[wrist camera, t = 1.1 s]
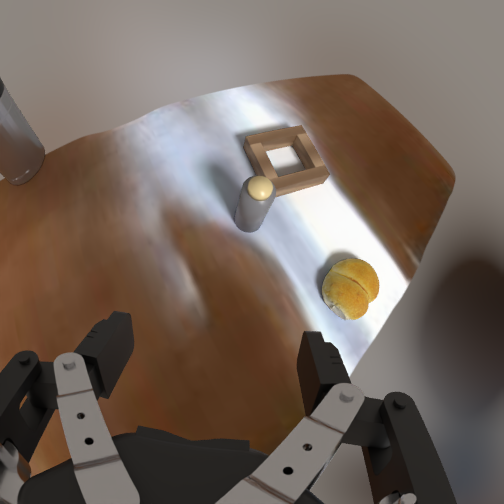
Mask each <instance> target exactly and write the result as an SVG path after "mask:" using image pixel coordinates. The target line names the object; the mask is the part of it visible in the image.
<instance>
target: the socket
mask: <svg viewBox="0 0 504 504" xmlns="http://www.w3.org/2000/svg"><path fill="white" fill-rule="evenodd" d="M291 145H292V146H293V147H294V149H295V151H296V153H297V155H298V156H299V158H300V160H301V162H302V164H303V166H304V167H305V169H306V170H303V171H299V172H295V173H291V174H288V175H284V176H280V177H278V176H277V174H276V172H275V170H274V168H273V166H272V164H271V162H270V160H269V158H268V156H267V154H266V152H265V151H269V150H274V149H278V148H282V147H287V146H291ZM243 148H244V150H245V152H246V154H247V156H248V158H249V160H250V162H251V164H252V167H253V169H254V171H255V173H256V175H257V176H264V177H266V178H268V179H269V180H270V181H271V182H272V183H273V184H274V186H275V188H276V196H275V197H278V196H281V195H285V194H288V193H292V192H295V191H298V190H302V189H305V188H309V187H312V186H316V185H319V184H323V183H324V182H325V180H326V179H327V178H328V176H329V175H330V173H329V172H328V170H327V168H326V166H325V164H324V163H323V161H322V159H321V157H320V156H319V154H318V152H317V150H316V149H315V147H314V145H313V144H312V142H311V140H310V138H309V137H308V135H307V133H306V132H305V130H304V129H303V127H302V125H300V126H295V127H289V128H284V129H279V130H274V131H269V132H264V133H259V134H255V135H250V136H246V138H245V142H244V147H243Z"/></svg>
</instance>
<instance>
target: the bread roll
mask: <svg viewBox="0 0 504 504" xmlns="http://www.w3.org/2000/svg"><path fill="white" fill-rule="evenodd" d="M378 292H379V280H378V277H377V274H376V272H375V270H374V269H373V268H372V266H371V265H370V264H368V263H367V262H365V261H363V260H361V259H352V258H351V259H345V260H342V261H339V262H338V263H336V264H335V265H333V266H332V268H331V269H330V271H329V272H328V274H327V275H326V277H325V279H324V281H323V285H322V295H323V298H324V302H325V303H326V304H327V305H328V307H329V308H330V309H331V310H332V311H333V312H334V313H335V314H337V315H338V316H339V317H340V318H342V319H344V320H348V319H351V320H355V319H358V318H360V317H362V316H363V315H364V314H365V313H366V312H367V309H368V303H370V302H372V301H373V300H374V299H375V298H376V297H377V295H378Z"/></svg>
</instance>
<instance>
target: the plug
mask: <svg viewBox="0 0 504 504" xmlns="http://www.w3.org/2000/svg"><path fill="white" fill-rule="evenodd" d="M275 196H276V188H275V186H274V184H273V183H272V182H271V181H270V180H269V179H268V178H266V177H264V176H252V177H250V178H248V179H247V180H246V181H245V182H244V183H243V186H242V190H241V194H240V198H239V202H238V205H237V209H236V213H235V218H234V220H235V224H236V226H237V227H238V228H239V229H240V230H242V231H244V232H254V231H256V230H258V229H259V228H260V226H261V224H262V222H263V220H264V218H265V216H266V214H267V212H268V210H269V208H270V206H271V205H272V203H273V201H274V199H275Z"/></svg>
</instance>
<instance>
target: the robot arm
mask: <svg viewBox="0 0 504 504" xmlns="http://www.w3.org/2000/svg"><path fill="white" fill-rule="evenodd" d="M44 156H45V150H44V147H43V145H42V144H41V142H40V141H39V139H38V137H37V136H36V134H35V133H34V131H33V130H32V128H31V127H30V125H29V124H28V122H27V121H26V119H25V117H24V116H23V114H22V113H21V111H20V110H19V109H18V107H17V105H16V104H15V102H14V100H13V99H12V97H11V96H10V94H9V93H8V90H7V89H6V87H5V85H4V84H3V82H2V80H1V78H0V173H1V174H2V175H3V176H4V177H5V178H6V179H7V180H8V181H9V182H10V183H11V184H13V185H20V184H23V183H25V182H27V181H28V180H30V179H31V178H32V177H33V176H34V175H35V174H36V173H37V171H38V170H39V169H40V167H41V165H42V163H43V160H44ZM133 349H134V336H133V329H132V320H131V315H130V314H129V313H125V312H118V311H114V312H113V313H112V314H111V315H110V317H109V318H108V319H107V320H105V319H103V320H102V321H100V322H98V323H97V324H95V325H94V327H93V328H92V329H91V332H89V333H88V334H87V337H85V338H84V339H83V341H82V342H81V343H80V344H79V346H78V347H77V348H76V350H75V351H74V352H73V353H64V354H62V355H60V356H58V357H57V358H56V359H55V361H54V362H40V361H39V358H38V356H37V354H36V353H35V352H33V351H22V352H19V353H17V354H16V355H15V356H14V357H13V358H12V359H11V360H10V362H9V363H8V364H7V365H6V366H5V368H4V369H3V370H2V371H1V373H0V504H324V503H323V502H322V501H321V500H319V499H318V498H317V497H316V496H315V495H314V494H313V493H311V492H310V489H311V488H312V487H313V485H314V484H315V482H316V481H317V480H318V478H319V477H320V475H321V474H322V472H323V471H324V469H325V468H326V466H327V465H328V464H329V462H330V460H331V459H332V458H333V456H334V454H335V453H336V452H337V450H338V448H339V447H340V445H341V444H342V443H346V444H353V445H359V446H361V447H362V451H363V455H364V460H365V464H366V468H367V473H368V477H369V482H370V486H371V491H372V496H373V501H374V504H457V503H456V500H455V497H454V494H453V492H452V489H451V487H450V484H449V481H448V478H447V476H446V473H445V471H444V468H443V466H442V463H441V461H440V458H439V456H438V454H437V451H436V449H435V447H434V444H433V442H432V440H431V437H430V435H429V433H428V431H427V428H426V426H425V424H424V422H423V420H422V417H421V415H420V413H419V411H418V409H417V407H416V405H415V403H414V401H413V399H412V398H411V397H410V396H408V395H407V394H405V393H401V392H391V393H389V394H387V395H386V396H385V398H384V400H380V399H373V398H368V397H365V396H364V393H363V392H362V390H361V389H360V388H359V387H357V386H355V385H353V384H351V381H350V378H349V376H348V373H347V371H346V368H345V366H344V364H343V361H342V358H341V356H340V354H339V351H338V349H337V348H336V347H335V346H334V345H333V344H332V343H331V342H324V339H323V336H322V334H321V332H316V331H304V333H303V336H302V340H301V345H300V349H299V354H298V358H297V372H298V377H299V382H300V387H301V393H302V398H303V403H304V408H305V414H306V416H305V417H304V418H303V419H302V420H301V422H300V423H299V424H298V425H297V426H296V427H295V429H294V430H293V431H292V432H291V433H290V434H289V435H288V437H287V438H286V439H285V440H284V441H283V442H282V443H281V444H280V445H279V446H278V448H277V449H276V450H275V451H274V452H273V453H272V454H271V455H270V456H269V455H267V454H265V453H263V452H261V451H258V450H255V449H252V448H249V440H234V439H211V440H198V441H191V440H187V439H185V438H182V437H179V436H176V435H174V434H171V433H169V432H166V431H163V430H158V429H153V428H148V427H143V426H138V428H137V431H136V433H124V434H120V435H116V436H113V437H111V436H110V434H109V431H108V429H107V426H106V424H105V421H104V419H103V416H102V414H101V411H100V408H99V406H98V403H97V400H98V398H99V397H103V398H107V399H109V397H110V395H111V393H112V391H113V389H114V387H115V385H116V383H117V381H118V379H119V377H120V375H121V373H122V371H123V369H124V367H125V365H126V364H127V362H128V360H129V358H130V356H131V354H132V352H133ZM25 395H26V396H27V399H26V400H25V402H24V404H23V405H22V407H21V408H20V409H19V407H20V403H21V401H22V400H23V398H24V397H25ZM55 409H59V412H60V417H61V421H62V425H63V429H64V433H65V437H66V441H67V444H68V448H69V451H70V454H71V457H72V458H71V459H69V460H67V461H65V462H63V463H61V464H59V465H57V466H55V467H52V468H50V469H48V470H46V471H44V472H42V473H40V474H37V475H35V476H33V477H31V478H30V476H31V468H30V465H29V462H30V459H31V457H32V455H33V453H34V451H35V449H36V447H37V444H38V442H39V440H40V438H41V436H42V434H43V432H44V430H45V428H46V426H47V424H48V422H49V420H50V418H51V417H52V415H53V413H54V411H55Z"/></svg>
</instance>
